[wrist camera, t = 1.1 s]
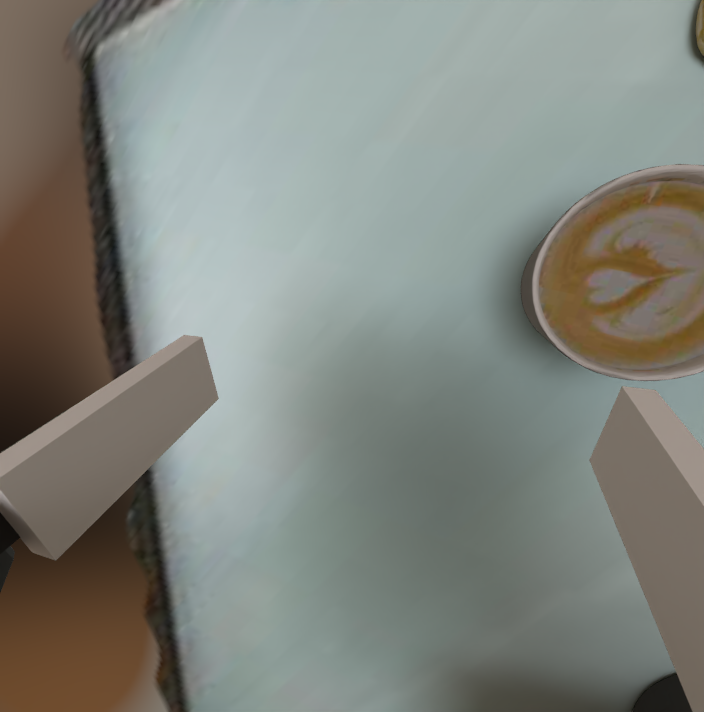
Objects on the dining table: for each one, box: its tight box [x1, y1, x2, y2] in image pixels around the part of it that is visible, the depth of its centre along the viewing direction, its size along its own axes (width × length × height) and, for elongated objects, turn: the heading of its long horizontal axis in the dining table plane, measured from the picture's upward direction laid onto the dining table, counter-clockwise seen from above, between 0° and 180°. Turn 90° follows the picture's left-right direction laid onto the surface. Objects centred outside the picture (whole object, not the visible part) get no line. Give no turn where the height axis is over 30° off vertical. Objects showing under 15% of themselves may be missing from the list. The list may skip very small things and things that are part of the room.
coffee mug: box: [521, 164, 704, 381], centre depth 20 cm, size 13×10×10 cm
